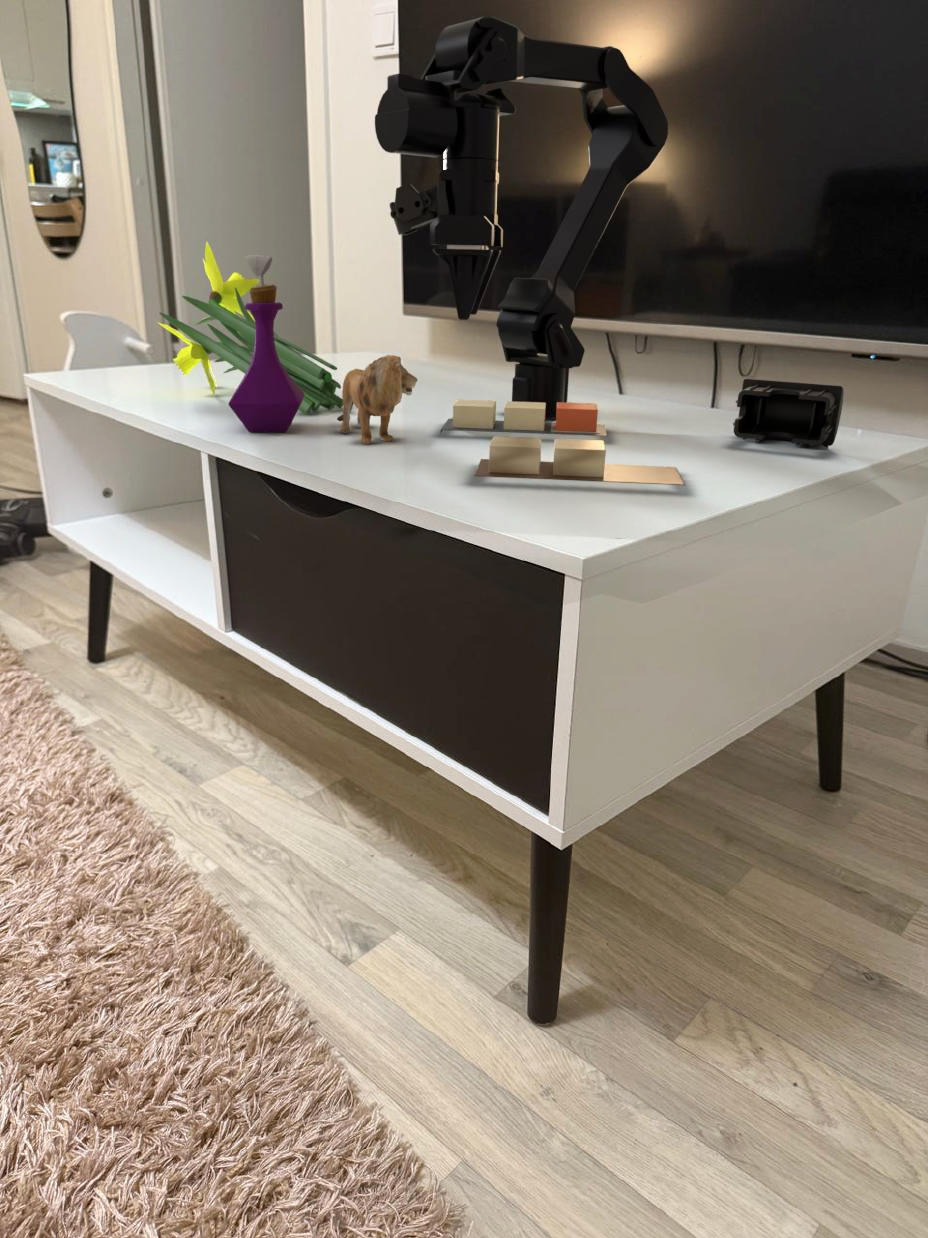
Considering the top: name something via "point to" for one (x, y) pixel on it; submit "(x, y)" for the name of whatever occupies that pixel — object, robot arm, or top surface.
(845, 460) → the top surface
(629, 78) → the robot arm
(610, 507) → the top surface
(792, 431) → the end cap
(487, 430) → the word board
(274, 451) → the top surface
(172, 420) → the top surface
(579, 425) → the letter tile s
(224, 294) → the daffodil flowers
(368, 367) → the lion figurine
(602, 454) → the word board
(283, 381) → the perfume bottle
